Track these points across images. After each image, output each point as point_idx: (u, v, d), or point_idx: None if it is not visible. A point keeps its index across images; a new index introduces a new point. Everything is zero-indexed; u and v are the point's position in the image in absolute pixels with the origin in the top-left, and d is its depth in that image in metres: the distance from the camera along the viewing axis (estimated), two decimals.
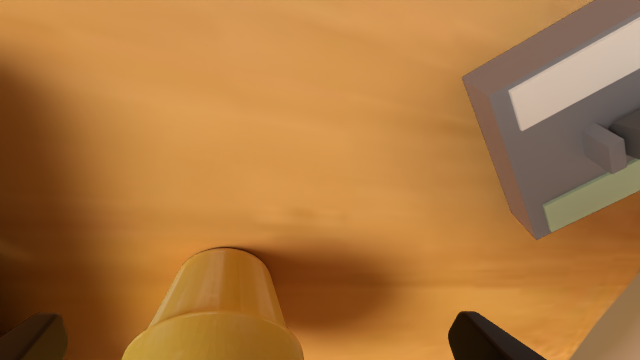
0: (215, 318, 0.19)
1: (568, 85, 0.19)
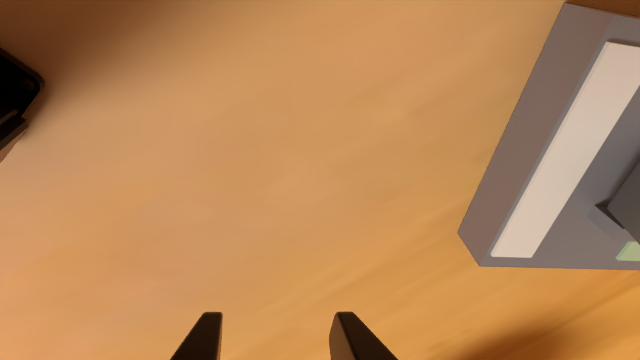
0: None
1: (535, 220, 0.21)
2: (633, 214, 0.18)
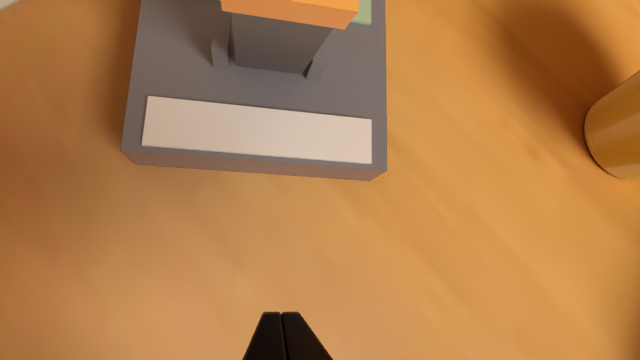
0: None
1: (324, 135, 0.21)
2: (290, 65, 0.19)
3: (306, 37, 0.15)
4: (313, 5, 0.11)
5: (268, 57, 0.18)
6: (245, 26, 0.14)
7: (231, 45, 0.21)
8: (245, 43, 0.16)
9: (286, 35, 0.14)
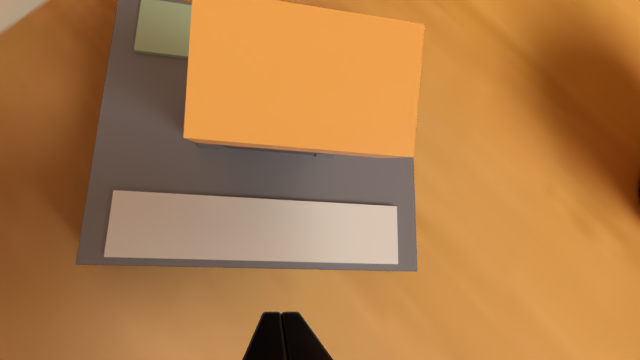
0: None
1: (338, 230, 0.17)
2: (296, 152, 0.15)
3: None
4: (340, 151, 0.07)
5: (268, 149, 0.14)
6: None
7: None
8: None
9: None
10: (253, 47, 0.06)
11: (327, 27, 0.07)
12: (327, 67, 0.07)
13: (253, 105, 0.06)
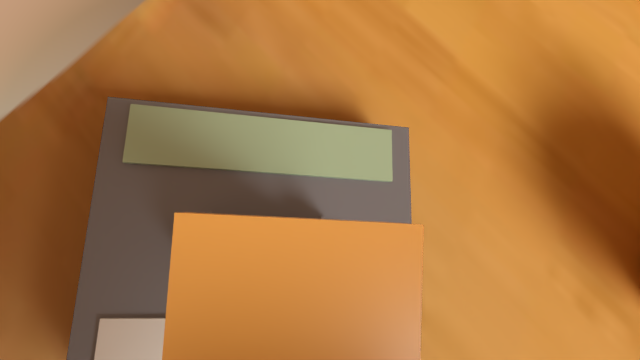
0: None
1: None
2: None
3: None
4: None
5: None
6: None
7: None
8: None
9: None
10: (240, 270, 0.06)
11: (320, 239, 0.06)
12: (320, 283, 0.06)
13: (240, 334, 0.06)
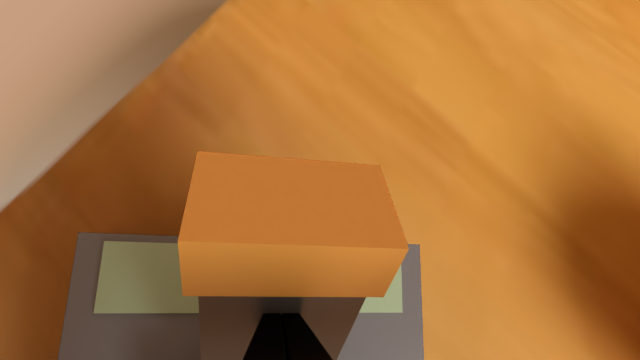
0: None
1: None
2: None
3: (319, 334, 0.09)
4: (336, 249, 0.07)
5: None
6: (221, 331, 0.09)
7: None
8: None
9: None
10: (245, 180, 0.07)
11: (304, 168, 0.08)
12: (309, 190, 0.08)
13: (247, 216, 0.07)
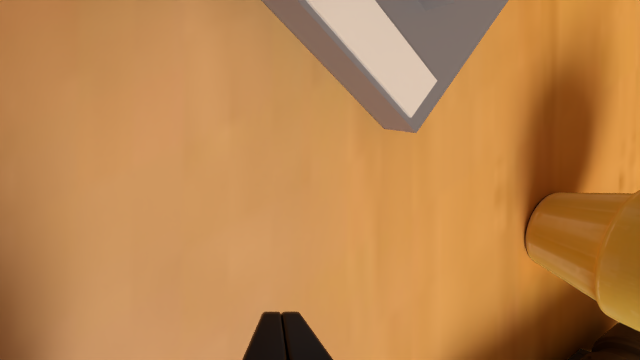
0: (603, 283, 0.26)
1: (396, 62, 0.20)
2: None
3: None
4: None
5: None
6: None
7: None
8: None
9: None
10: None
11: None
12: None
13: None
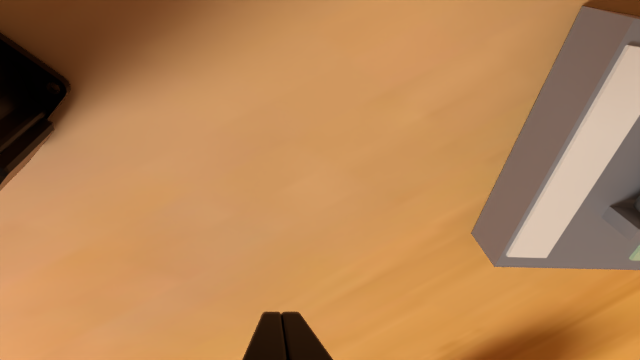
0: None
1: (551, 221, 0.21)
2: None
3: None
4: None
5: None
6: None
7: None
8: None
9: None
10: None
11: None
12: None
13: None
